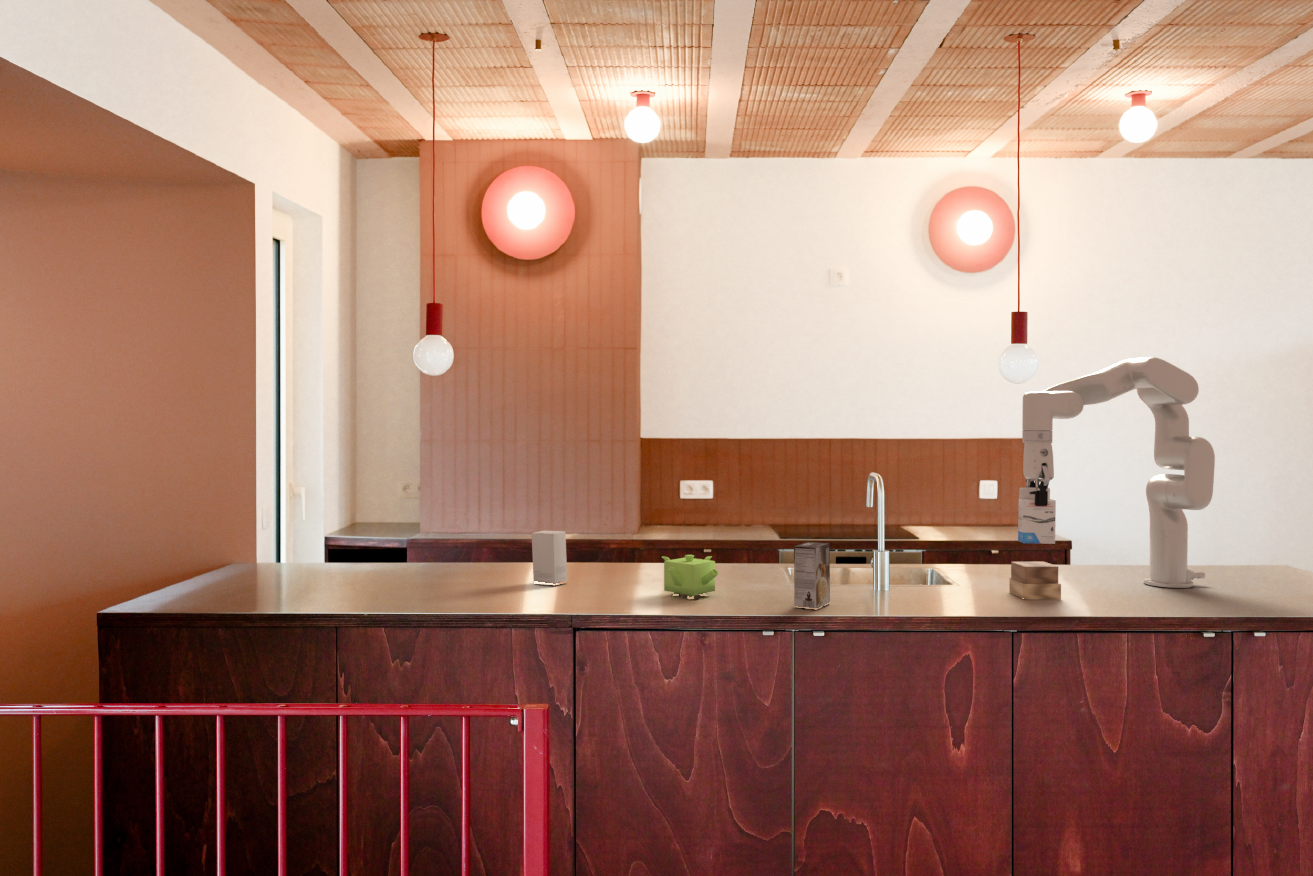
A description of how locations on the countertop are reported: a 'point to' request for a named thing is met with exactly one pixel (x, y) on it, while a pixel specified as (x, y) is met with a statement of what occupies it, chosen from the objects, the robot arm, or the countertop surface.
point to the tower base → (1035, 590)
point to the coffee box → (811, 574)
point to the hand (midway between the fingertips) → (1036, 504)
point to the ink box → (1035, 519)
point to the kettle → (689, 575)
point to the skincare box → (549, 556)
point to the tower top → (1034, 572)
